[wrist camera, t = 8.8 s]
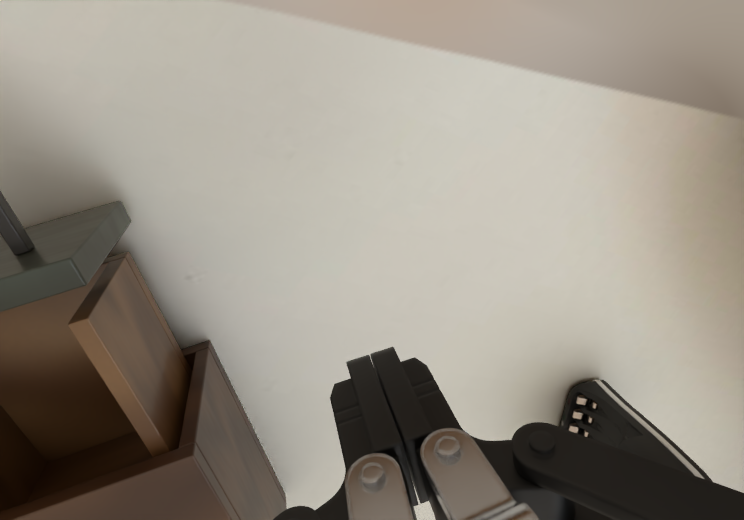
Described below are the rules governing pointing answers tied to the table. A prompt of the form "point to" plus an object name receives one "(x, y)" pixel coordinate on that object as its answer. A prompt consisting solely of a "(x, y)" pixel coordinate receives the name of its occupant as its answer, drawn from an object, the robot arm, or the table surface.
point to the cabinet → (182, 467)
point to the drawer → (80, 357)
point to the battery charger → (621, 426)
